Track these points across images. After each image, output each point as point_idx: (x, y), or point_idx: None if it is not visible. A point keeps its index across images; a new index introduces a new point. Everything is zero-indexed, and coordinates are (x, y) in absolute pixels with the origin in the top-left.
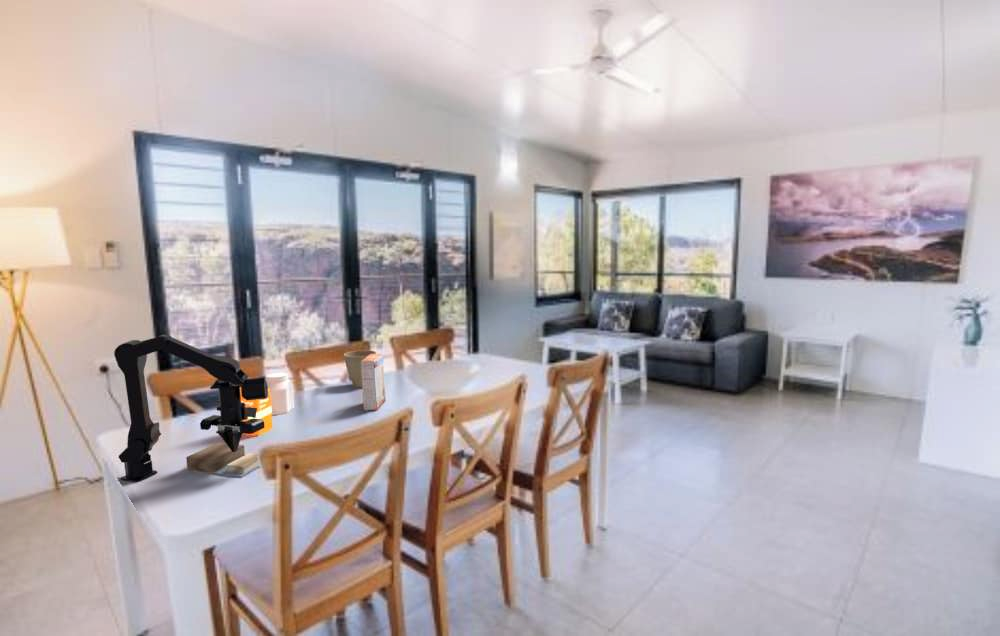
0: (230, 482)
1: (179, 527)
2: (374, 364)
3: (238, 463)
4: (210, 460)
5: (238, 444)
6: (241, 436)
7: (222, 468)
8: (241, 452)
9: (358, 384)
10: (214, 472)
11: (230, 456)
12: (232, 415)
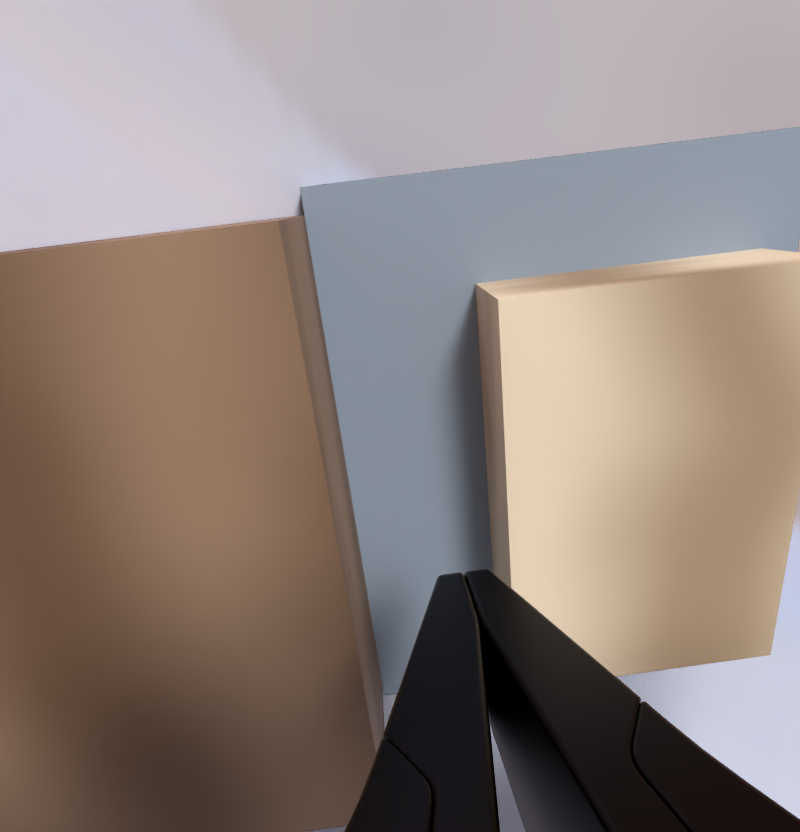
0: (690, 721)
1: None
2: None
3: (637, 618)
4: (333, 819)
5: (564, 644)
6: (768, 798)
7: (379, 601)
8: (306, 293)
9: None
10: (391, 688)
11: (343, 529)
12: None
